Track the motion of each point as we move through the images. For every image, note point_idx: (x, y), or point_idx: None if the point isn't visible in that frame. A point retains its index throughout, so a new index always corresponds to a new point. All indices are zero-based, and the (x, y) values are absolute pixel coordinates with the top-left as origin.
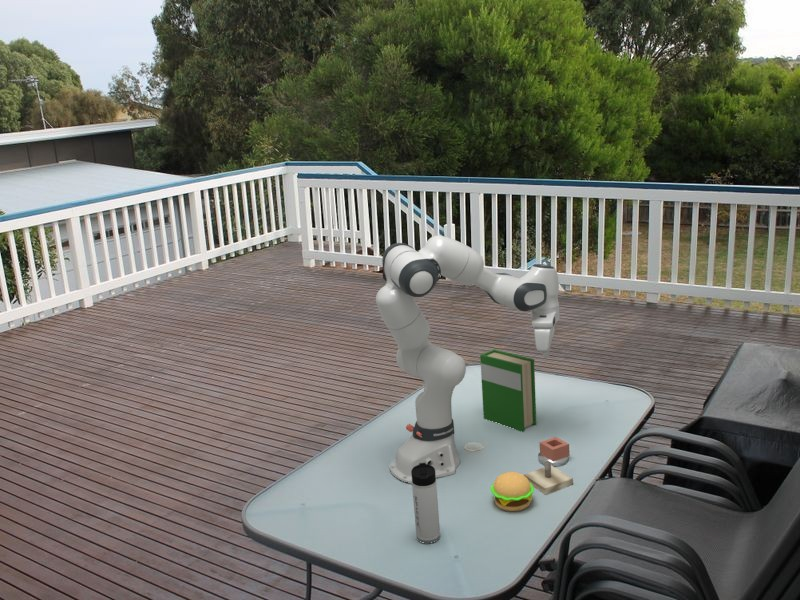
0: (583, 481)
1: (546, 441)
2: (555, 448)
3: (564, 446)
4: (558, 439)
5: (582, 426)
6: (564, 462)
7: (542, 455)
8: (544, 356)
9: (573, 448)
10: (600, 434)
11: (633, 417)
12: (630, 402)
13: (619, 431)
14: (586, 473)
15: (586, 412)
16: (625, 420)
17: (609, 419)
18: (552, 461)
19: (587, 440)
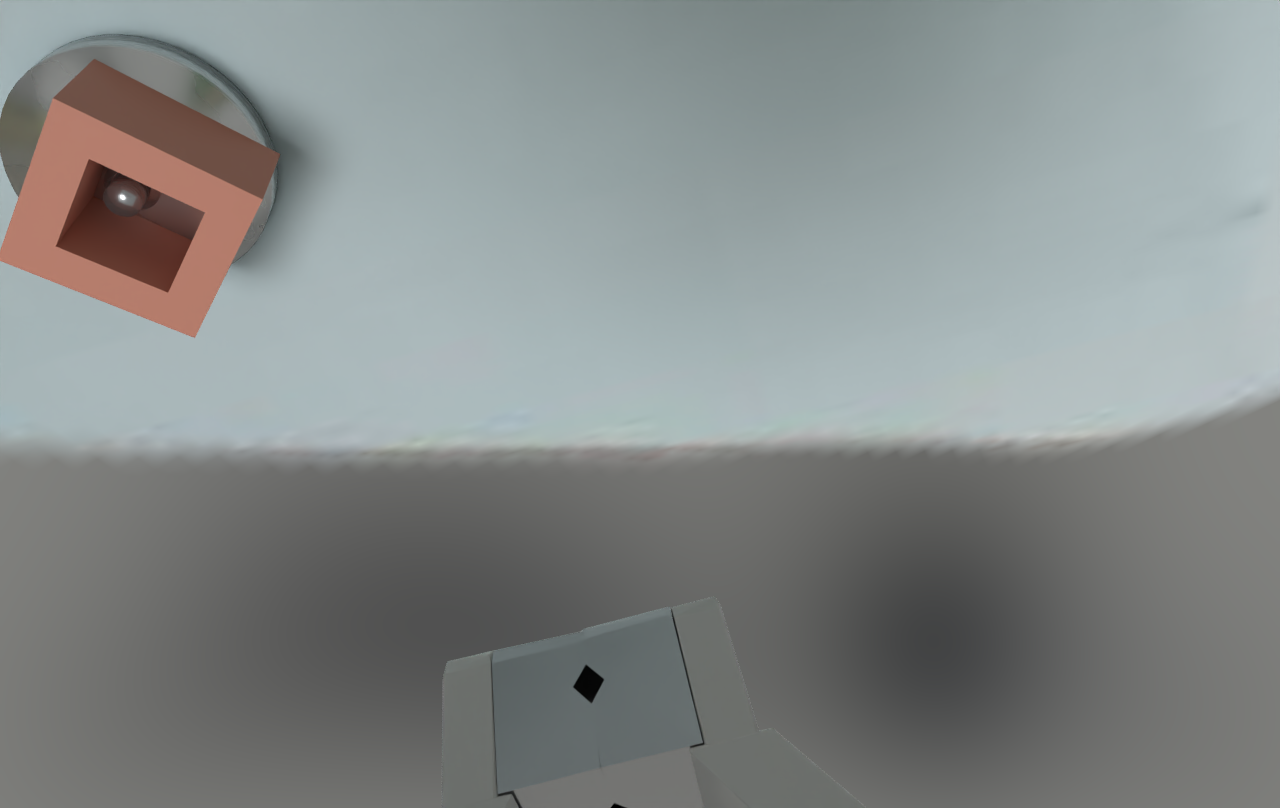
0: (3, 422)
1: (114, 155)
2: (40, 270)
3: (142, 312)
4: (223, 237)
5: (802, 182)
6: None
7: None
8: (452, 697)
9: (421, 232)
10: (700, 323)
11: (975, 413)
12: (1197, 346)
13: (769, 402)
14: (117, 406)
15: (1052, 137)
16: (929, 389)
17: (938, 308)
18: None
19: (584, 278)
